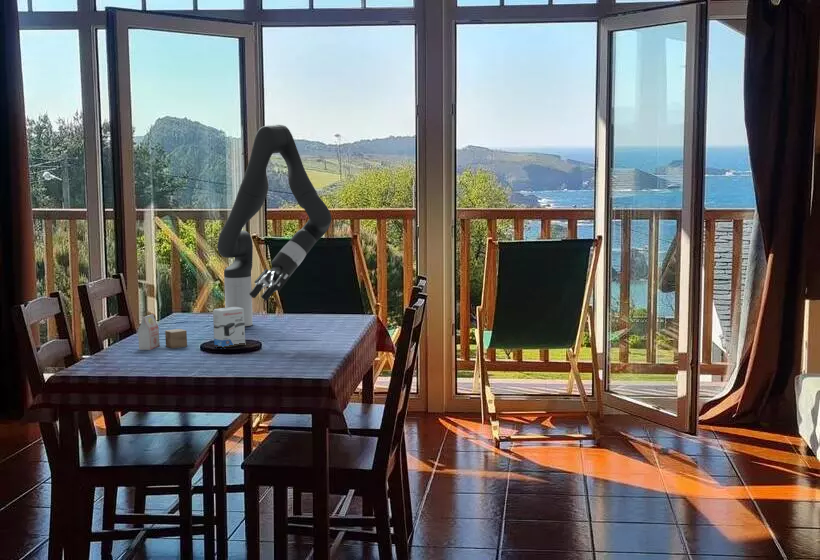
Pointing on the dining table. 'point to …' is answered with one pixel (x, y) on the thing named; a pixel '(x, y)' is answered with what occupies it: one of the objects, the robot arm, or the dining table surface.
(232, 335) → the ink box
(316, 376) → the dining table surface
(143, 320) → the white carton
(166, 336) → the walnut cube
